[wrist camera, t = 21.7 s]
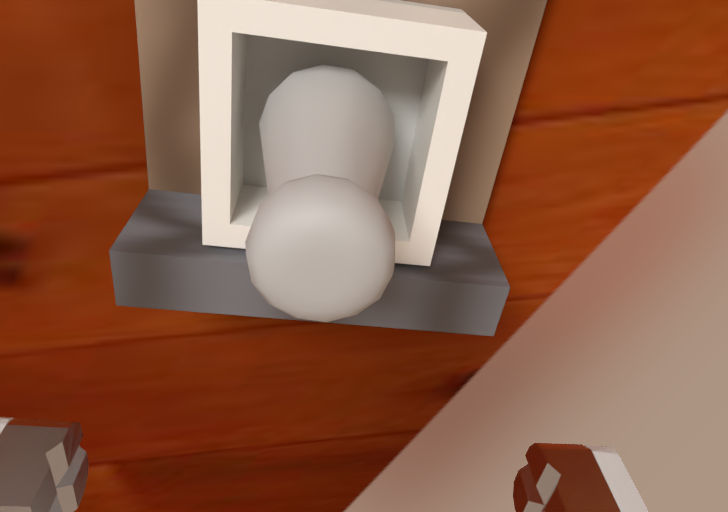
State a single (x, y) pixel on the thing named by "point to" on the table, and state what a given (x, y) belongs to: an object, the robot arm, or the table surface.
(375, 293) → the salt shaker
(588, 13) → the table surface
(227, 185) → the frame
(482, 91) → the board
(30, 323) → the table surface
